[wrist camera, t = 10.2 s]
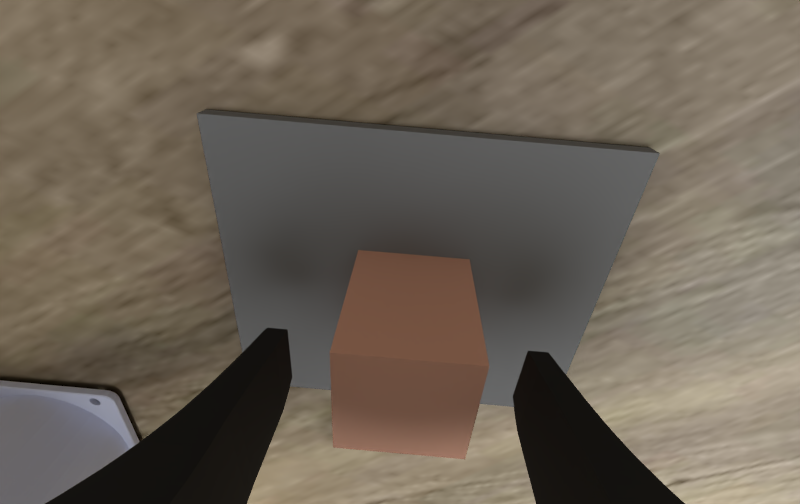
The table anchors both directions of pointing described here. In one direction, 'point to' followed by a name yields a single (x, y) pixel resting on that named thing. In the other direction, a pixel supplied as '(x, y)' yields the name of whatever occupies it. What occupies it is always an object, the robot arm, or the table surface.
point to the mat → (417, 226)
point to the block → (408, 356)
